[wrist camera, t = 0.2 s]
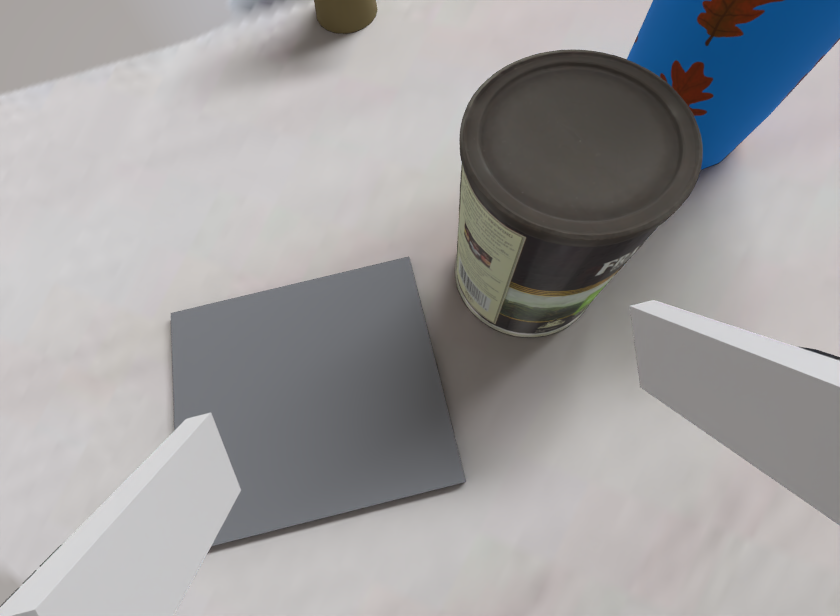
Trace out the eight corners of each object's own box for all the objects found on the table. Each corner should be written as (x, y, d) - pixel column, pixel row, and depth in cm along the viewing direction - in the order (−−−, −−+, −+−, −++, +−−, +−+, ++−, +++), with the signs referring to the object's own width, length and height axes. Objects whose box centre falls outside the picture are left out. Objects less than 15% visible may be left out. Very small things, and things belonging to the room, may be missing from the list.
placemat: (465, 481, 27) (466, 481, 27) (184, 552, 27) (178, 554, 26) (409, 260, 33) (409, 256, 32) (175, 315, 32) (170, 313, 32)
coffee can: (619, 250, 32) (741, 100, 19) (553, 365, 29) (642, 285, 16) (497, 189, 34) (530, 18, 21) (427, 291, 32) (414, 167, 19)
